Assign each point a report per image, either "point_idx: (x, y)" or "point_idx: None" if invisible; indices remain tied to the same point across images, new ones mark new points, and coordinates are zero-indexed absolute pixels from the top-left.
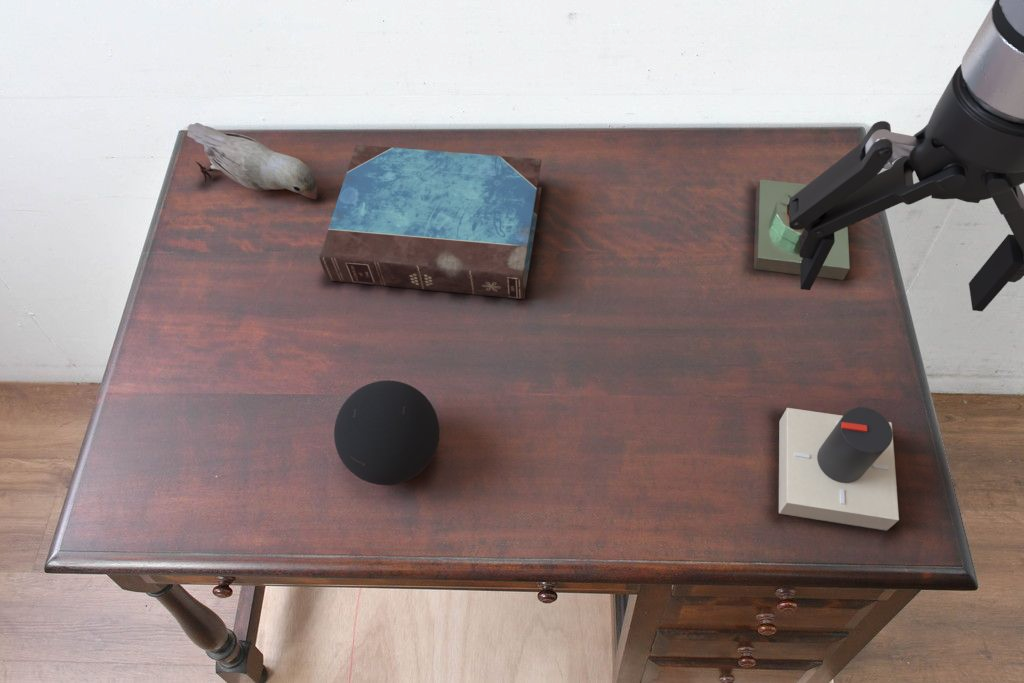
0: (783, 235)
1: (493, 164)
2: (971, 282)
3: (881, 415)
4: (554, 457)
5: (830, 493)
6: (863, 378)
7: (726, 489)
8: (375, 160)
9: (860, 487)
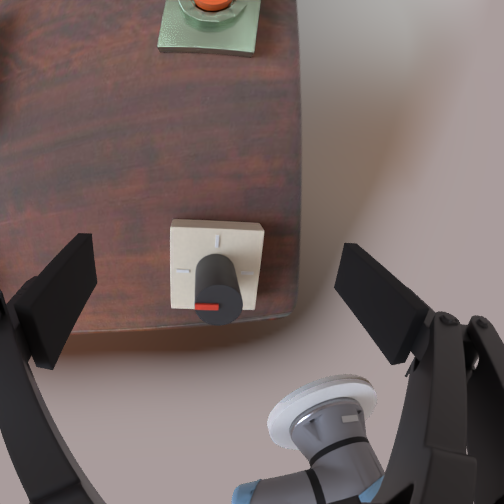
0: (187, 18)
1: None
2: (347, 250)
3: (234, 291)
4: (24, 270)
5: None
6: (253, 166)
7: (134, 281)
8: None
9: None
